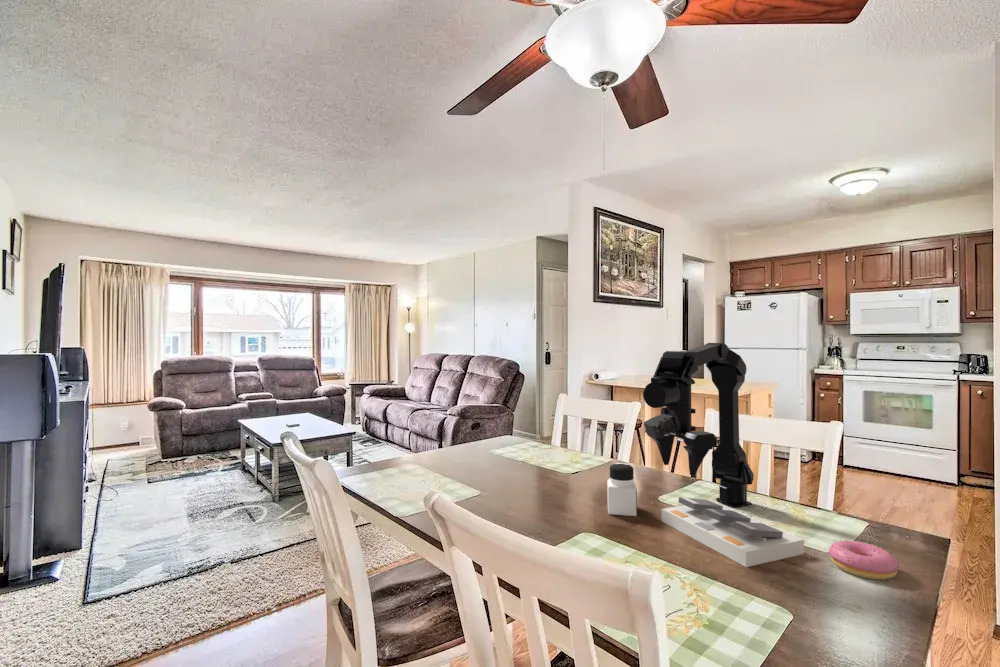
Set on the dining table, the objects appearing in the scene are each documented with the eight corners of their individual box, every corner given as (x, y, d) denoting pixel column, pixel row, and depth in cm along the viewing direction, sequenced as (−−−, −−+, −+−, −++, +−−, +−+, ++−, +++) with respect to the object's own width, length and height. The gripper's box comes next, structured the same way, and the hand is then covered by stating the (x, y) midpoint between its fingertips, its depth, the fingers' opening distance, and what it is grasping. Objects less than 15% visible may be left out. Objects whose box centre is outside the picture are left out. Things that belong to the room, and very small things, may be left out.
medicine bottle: (637, 516, 119) (636, 469, 119) (608, 514, 121) (607, 467, 121) (634, 506, 126) (634, 462, 126) (607, 505, 128) (607, 460, 128)
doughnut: (825, 552, 100) (825, 532, 100) (892, 564, 94) (892, 543, 94) (831, 574, 90) (831, 552, 90) (905, 589, 85) (905, 566, 85)
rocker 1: (706, 504, 119) (707, 499, 119) (722, 511, 114) (722, 506, 114) (678, 502, 116) (679, 496, 116) (693, 509, 111) (694, 503, 111)
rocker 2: (761, 528, 104) (762, 522, 104) (782, 537, 99) (783, 531, 99) (730, 526, 101) (731, 520, 101) (750, 535, 96) (751, 529, 96)
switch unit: (712, 512, 122) (711, 498, 122) (803, 554, 98) (803, 536, 98) (661, 521, 116) (661, 506, 116) (746, 567, 93) (746, 548, 93)
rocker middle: (732, 515, 111) (732, 510, 111) (750, 523, 106) (750, 517, 107) (702, 513, 108) (703, 507, 108) (719, 521, 103) (720, 515, 103)
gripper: (626, 400, 118) (627, 462, 118) (676, 411, 100) (677, 484, 100) (663, 398, 121) (664, 459, 121) (718, 408, 104) (719, 479, 104)
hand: (678, 469), depth 111 cm, fingers open, 9 cm apart
